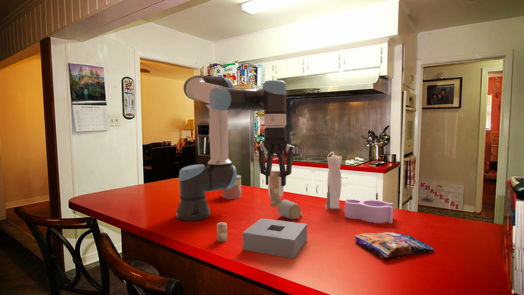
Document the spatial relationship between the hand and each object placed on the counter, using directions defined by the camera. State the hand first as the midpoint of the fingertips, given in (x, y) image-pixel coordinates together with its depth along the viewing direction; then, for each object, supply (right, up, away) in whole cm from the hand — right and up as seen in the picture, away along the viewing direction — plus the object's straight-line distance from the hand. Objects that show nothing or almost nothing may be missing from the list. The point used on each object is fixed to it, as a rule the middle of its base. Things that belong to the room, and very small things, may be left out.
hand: (275, 194), depth 102 cm
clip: (+43, -15, +30) cm, 55 cm away
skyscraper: (+32, -14, +48) cm, 59 cm away
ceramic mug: (+9, -16, +32) cm, 37 cm away
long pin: (0, -4, 0) cm, 4 cm away
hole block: (0, -18, +1) cm, 18 cm away
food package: (+41, -18, -1) cm, 45 cm away
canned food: (-23, -13, +71) cm, 76 cm away
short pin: (-19, -18, +6) cm, 27 cm away
